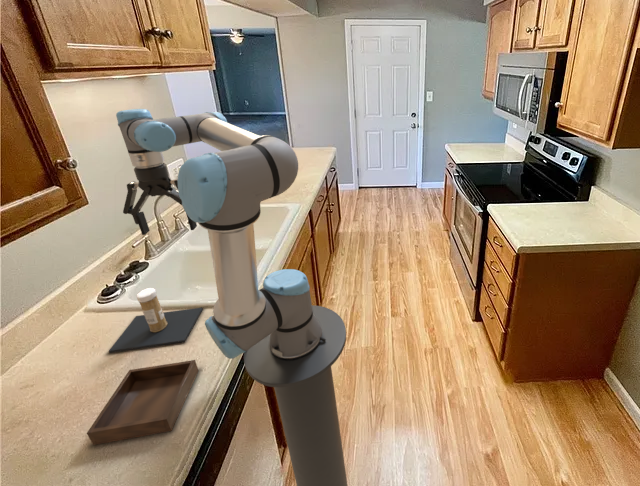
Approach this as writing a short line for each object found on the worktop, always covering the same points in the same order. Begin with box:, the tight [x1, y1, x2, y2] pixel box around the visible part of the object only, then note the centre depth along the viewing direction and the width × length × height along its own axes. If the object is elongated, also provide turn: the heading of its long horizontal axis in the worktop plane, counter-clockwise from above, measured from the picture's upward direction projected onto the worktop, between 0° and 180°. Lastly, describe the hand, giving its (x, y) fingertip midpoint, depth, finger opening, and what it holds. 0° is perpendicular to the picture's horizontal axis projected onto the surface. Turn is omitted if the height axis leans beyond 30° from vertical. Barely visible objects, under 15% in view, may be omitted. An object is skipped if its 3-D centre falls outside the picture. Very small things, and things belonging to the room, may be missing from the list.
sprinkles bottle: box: [136, 287, 167, 332], centre depth 99 cm, size 5×5×13 cm
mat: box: [108, 307, 204, 354], centre depth 102 cm, size 20×14×1 cm
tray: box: [86, 359, 199, 446], centre depth 79 cm, size 16×16×4 cm
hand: (170, 230), depth 101 cm, fingers open, 13 cm apart
